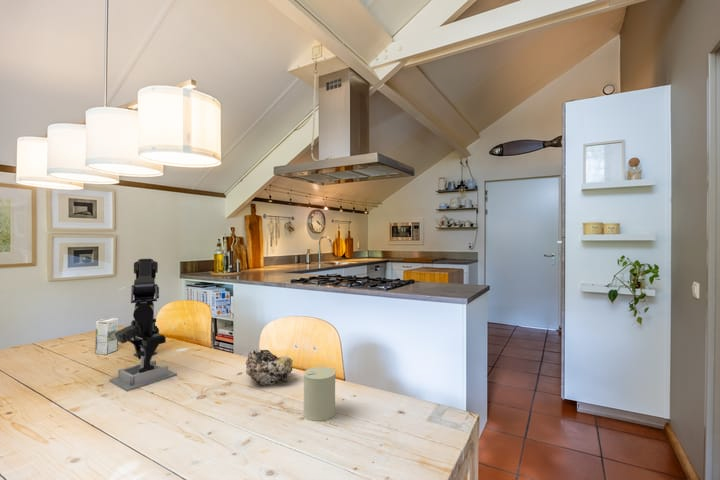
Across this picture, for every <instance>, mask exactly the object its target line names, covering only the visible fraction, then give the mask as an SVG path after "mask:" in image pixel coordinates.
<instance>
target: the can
mask: <svg viewBox="0 0 720 480" xmlns="http://www.w3.org/2000/svg"><path fill="white" fill-rule="evenodd" d="M336 374H337V372H336V370H335V369H334V368H332V367H329V366H313V367H310V368H308V369H306V370H305V371H304V372H303V412H302V414H303V417H304V418H305V419H307V420H310V421H312V422H313V421H314V422H324V421H326V420H327V421H328V420H329V419H331V418H332V417H334V416H335V415H336V411H337V410H336Z"/></svg>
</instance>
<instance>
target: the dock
mask: <svg viewBox="0 0 720 480" xmlns="http://www.w3.org/2000/svg"><path fill="white" fill-rule="evenodd" d="M151 363H152V366H154V369H153V370H149V371H146V372H143V373H139V374H136V373H138V369H139V368H140V364H137V365H133V366H130V367H129V366H128V367H126V368H122V369H118V370H117V371H118V372H117V373H118V375H117V377H113V378H110V379H108V381H109V382H110V383H111V384H113V385H115V386H116V387H118V388H121V389H122V390H124V391H125V392H130V391H132V390H136V389H139V388H142V387H145V386H148V385H152V384H154V383H157V382H160V381H164V380H167V379H169V378H173V377H176V376H178V374H177V372H174V371H172V370H170V369H169V368H170V367H169V365H164V366H159V365H157V360H155V359H154V360H151ZM134 374H136V375H134Z"/></svg>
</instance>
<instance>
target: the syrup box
mask: <svg viewBox="0 0 720 480" xmlns="http://www.w3.org/2000/svg"><path fill="white" fill-rule="evenodd" d="M119 321H120V319H119V318H116V317H106V318H102V319H98V320H96V322H95V347H94V348H95V349H94V351H95V355H109V354H112V353H114V352H117V351H118V350H119V342H118V341H117V338H116V336H115V333H116V332H118V331H119Z"/></svg>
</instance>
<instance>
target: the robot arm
mask: <svg viewBox="0 0 720 480" xmlns="http://www.w3.org/2000/svg"><path fill="white" fill-rule="evenodd" d="M158 267H159V264H158V261H155V260H154V259H152V258H140V259H138V260H137V261H135V262H133V274H135V279H134V282H133V284H131V290H130V291H131V292H130V304H134V310H133V314H132V317H133V319H132V321H131V322H130V325H128V326H126V327H124V328H122V329H120V330H118V332H116V333H115V336H116V338H117V341H118V343H120V344H126V343H127V342H129V343H130V344H132V345H133V347H134V350H135V353H134V354H133V356H135V357H136V358H137V359H138V360H140V361H141V356H139V355H138V350H139V349H141V347H142V348H143V349H144V356H145V362H146V363H147V362H150V360H151V361H152V359H151V358H153V356H154V355H157V354H158V352H156V350H157V348H158V347H159V345H161V344H165V343H166V342H167V341H166V340H167V339H166V336H165V335H164V334H161V333H160V328H159V327H158V325H156V322H157V318H155V317H154V316H155V309H154V308H155V303H154V302H158V299H160V287H159V285H158V284H157V283H156V282H155V281H156V278H157V277H156V276H157V275H156V274H158V269H159V268H158Z"/></svg>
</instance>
